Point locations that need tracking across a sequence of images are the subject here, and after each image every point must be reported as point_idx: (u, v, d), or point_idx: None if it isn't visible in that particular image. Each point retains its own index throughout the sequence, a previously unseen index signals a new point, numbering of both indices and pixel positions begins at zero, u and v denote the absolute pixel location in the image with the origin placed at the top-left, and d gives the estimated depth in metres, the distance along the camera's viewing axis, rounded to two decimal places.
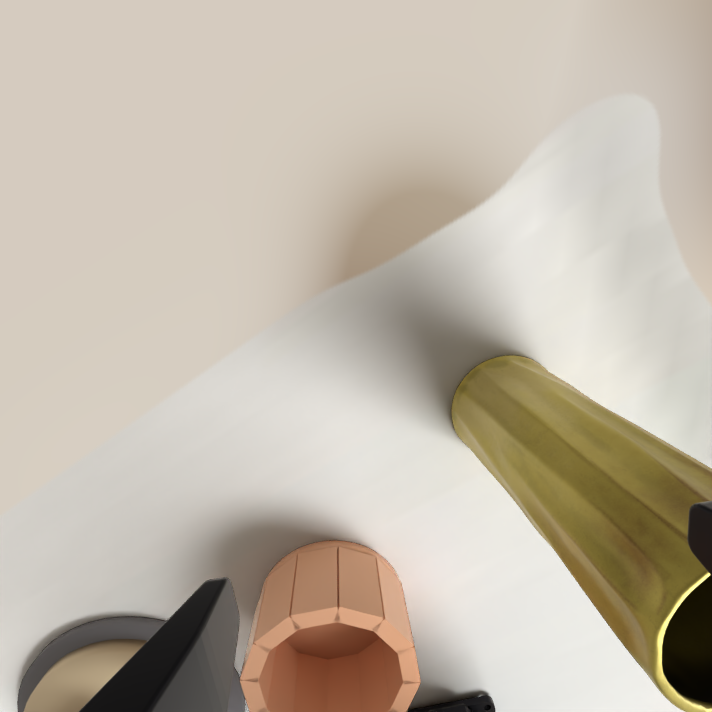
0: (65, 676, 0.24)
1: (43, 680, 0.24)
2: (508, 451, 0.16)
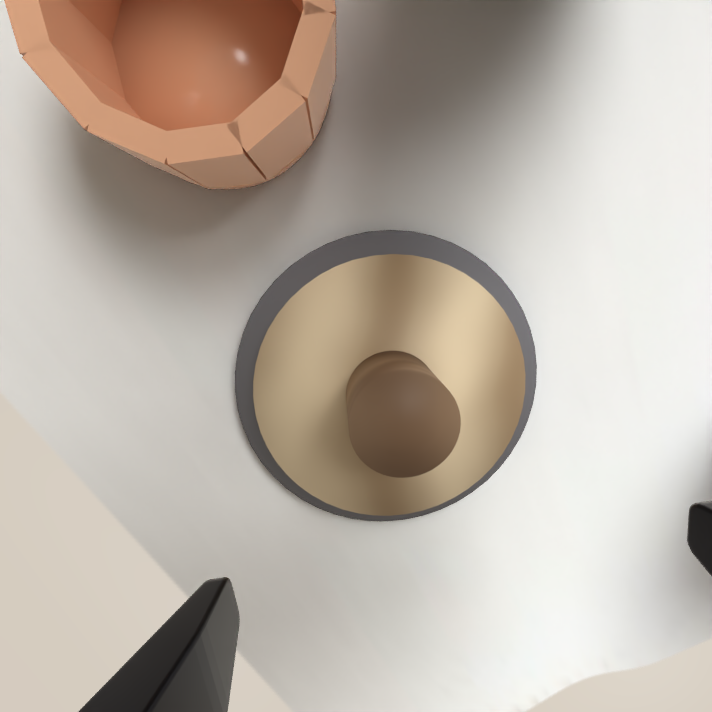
0: (286, 452, 0.18)
1: (292, 478, 0.18)
2: None
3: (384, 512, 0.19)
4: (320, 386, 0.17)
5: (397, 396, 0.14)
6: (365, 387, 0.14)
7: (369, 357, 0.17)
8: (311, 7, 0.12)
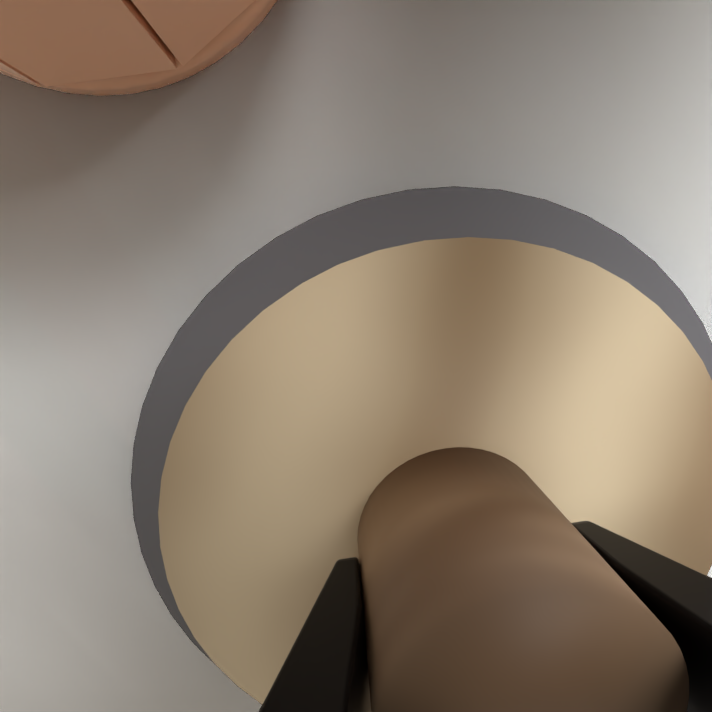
0: (235, 646, 0.09)
1: (248, 691, 0.09)
2: None
3: None
4: (303, 521, 0.08)
5: (517, 648, 0.05)
6: (423, 621, 0.05)
7: (409, 463, 0.08)
8: None
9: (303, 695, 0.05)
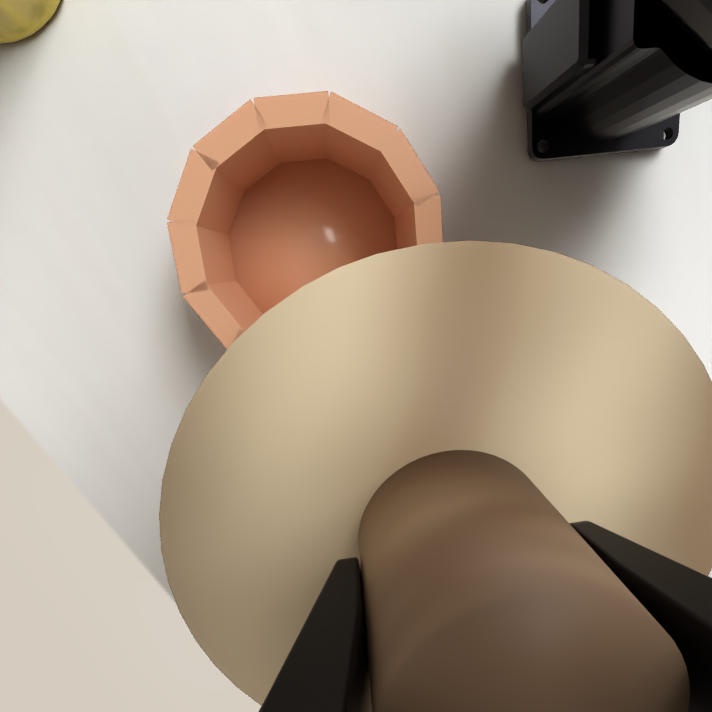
0: (236, 648, 0.09)
1: (249, 694, 0.09)
2: None
3: None
4: (304, 523, 0.08)
5: (517, 653, 0.05)
6: (424, 625, 0.05)
7: (410, 466, 0.08)
8: None
9: (303, 695, 0.05)
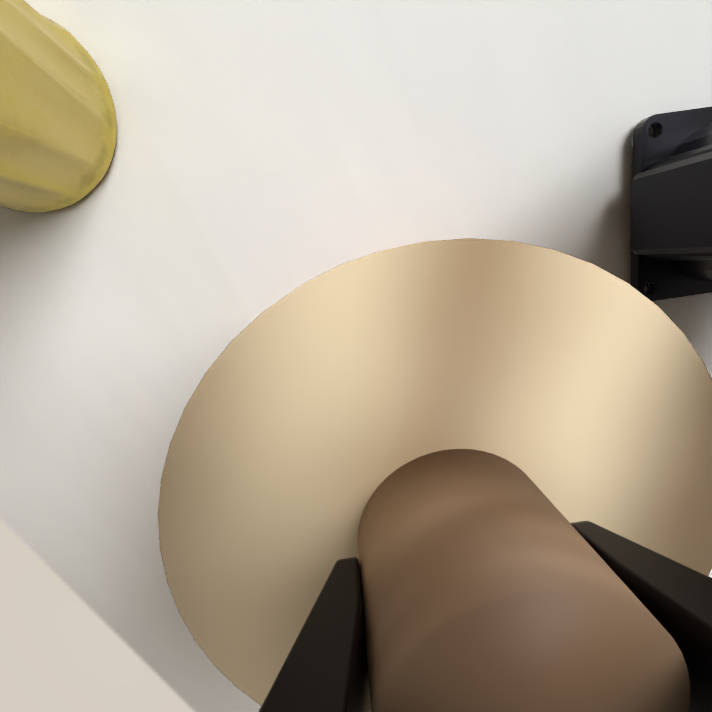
0: (235, 648, 0.09)
1: (248, 693, 0.09)
2: None
3: None
4: (303, 522, 0.08)
5: (517, 652, 0.05)
6: (423, 624, 0.05)
7: (409, 465, 0.08)
8: None
9: (303, 695, 0.05)
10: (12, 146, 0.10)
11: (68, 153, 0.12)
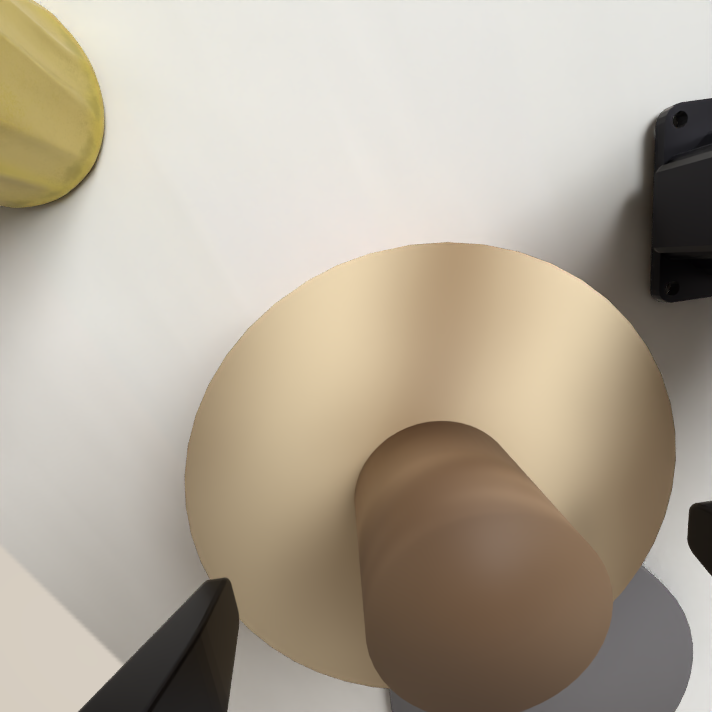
0: (249, 595, 0.10)
1: (260, 636, 0.10)
2: None
3: None
4: (308, 484, 0.10)
5: (476, 562, 0.06)
6: (404, 541, 0.06)
7: (398, 434, 0.09)
8: None
9: None
10: None
11: (50, 143, 0.11)
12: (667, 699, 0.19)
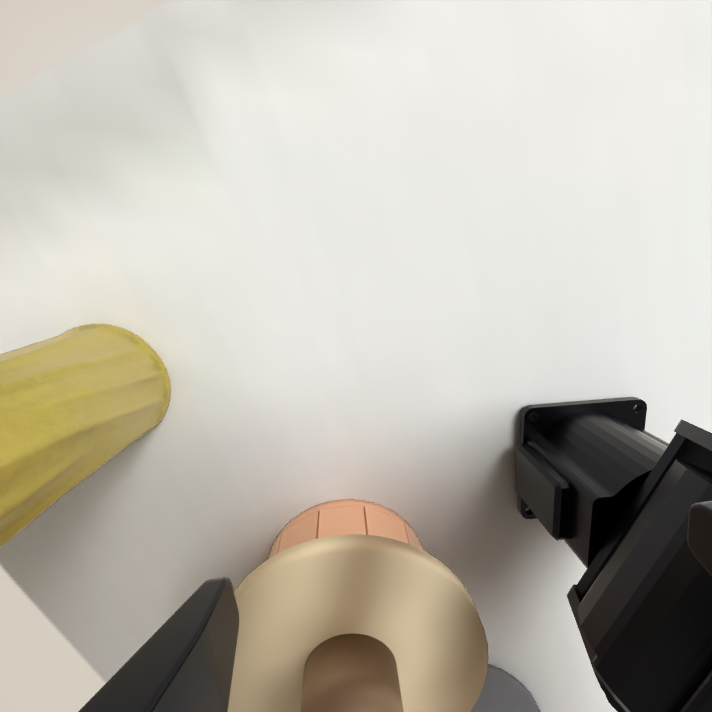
0: None
1: None
2: None
3: None
4: (278, 661, 0.17)
5: None
6: None
7: (330, 641, 0.17)
8: None
9: None
10: None
11: (141, 433, 0.18)
12: None
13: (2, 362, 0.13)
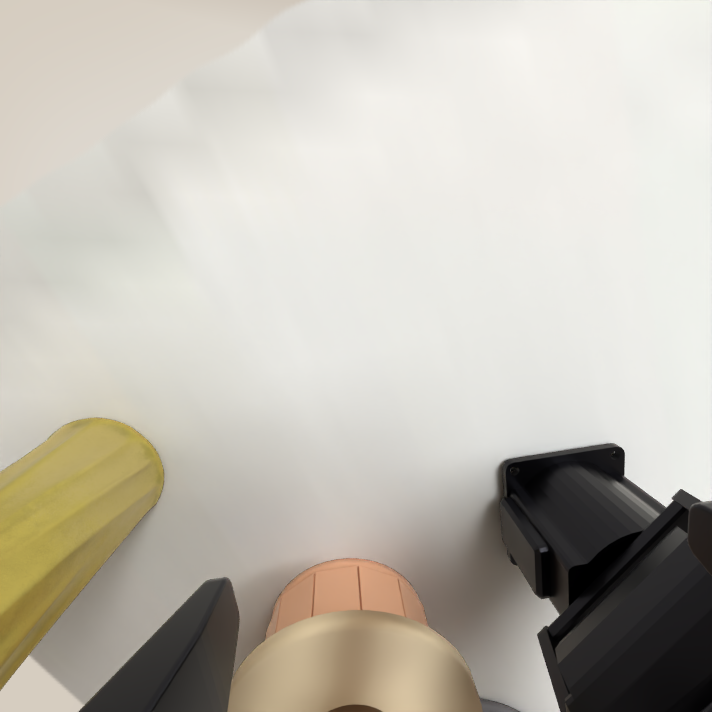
0: None
1: None
2: None
3: None
4: None
5: None
6: None
7: None
8: None
9: None
10: None
11: (137, 521, 0.19)
12: None
13: None
